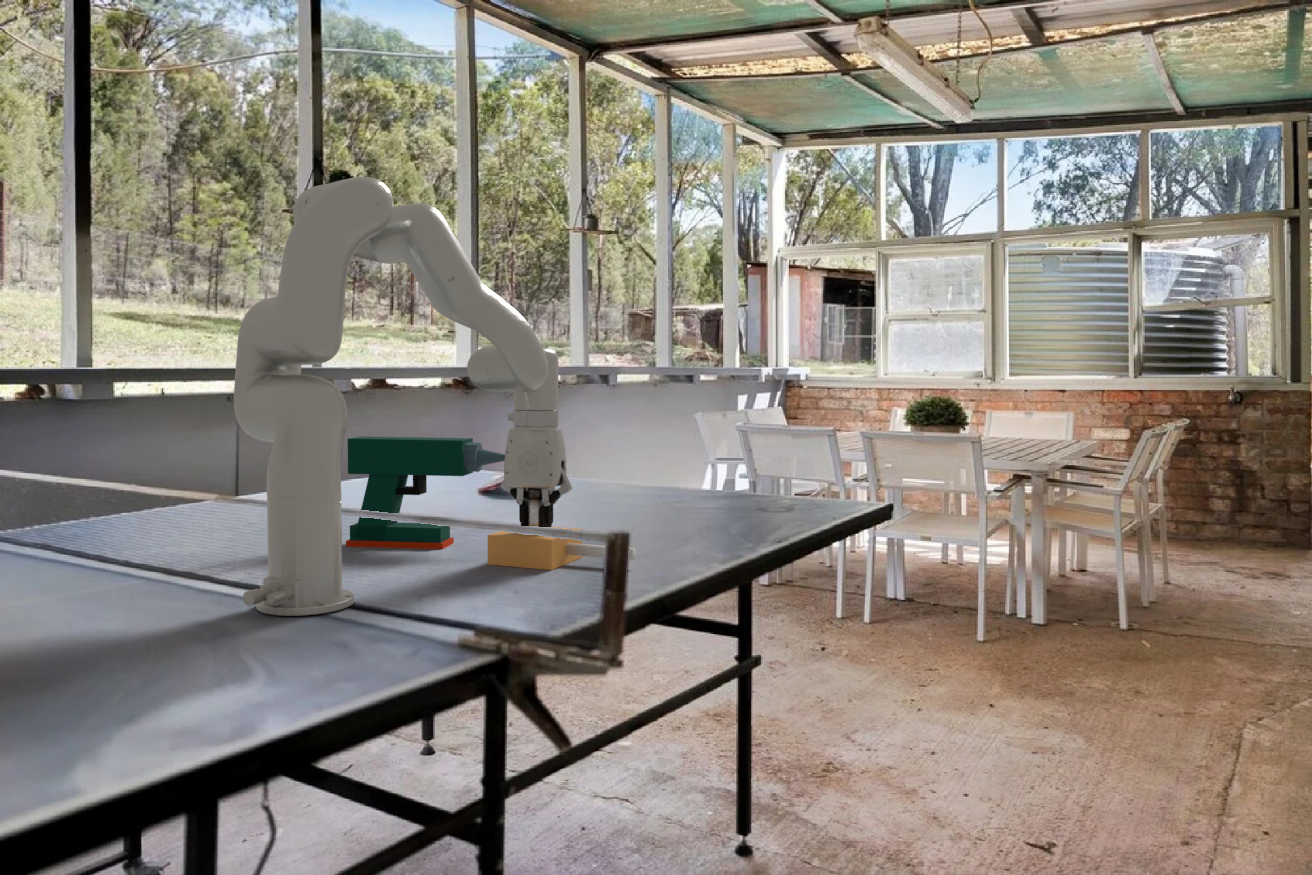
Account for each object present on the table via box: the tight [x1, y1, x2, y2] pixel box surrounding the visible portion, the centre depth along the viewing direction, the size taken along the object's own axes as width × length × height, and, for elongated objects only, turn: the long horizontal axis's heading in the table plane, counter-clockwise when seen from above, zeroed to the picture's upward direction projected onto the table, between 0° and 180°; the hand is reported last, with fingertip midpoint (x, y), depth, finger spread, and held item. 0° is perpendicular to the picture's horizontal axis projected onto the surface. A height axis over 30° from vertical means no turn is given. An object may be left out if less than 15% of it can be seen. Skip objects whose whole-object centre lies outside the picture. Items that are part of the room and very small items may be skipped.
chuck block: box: [487, 526, 636, 571], centre depth 163 cm, size 12×24×5 cm, turn 70°
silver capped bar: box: [528, 488, 543, 527], centre depth 165 cm, size 3×3×10 cm
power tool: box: [345, 435, 505, 550], centre depth 178 cm, size 32×7×20 cm, turn 84°
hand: (536, 526), depth 165 cm, fingers closed on silver capped bar, 3 cm apart
